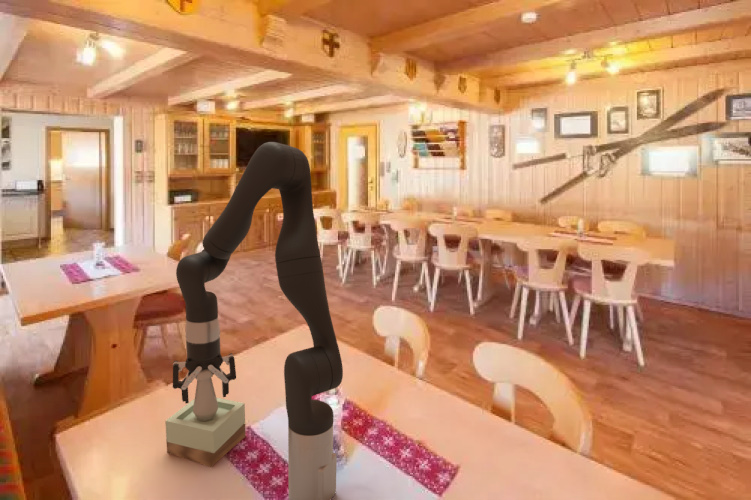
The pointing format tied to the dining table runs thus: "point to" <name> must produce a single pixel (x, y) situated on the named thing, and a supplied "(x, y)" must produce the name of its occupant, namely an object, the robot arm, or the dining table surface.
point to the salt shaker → (205, 397)
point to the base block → (205, 456)
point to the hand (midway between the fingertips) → (205, 398)
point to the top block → (205, 426)
